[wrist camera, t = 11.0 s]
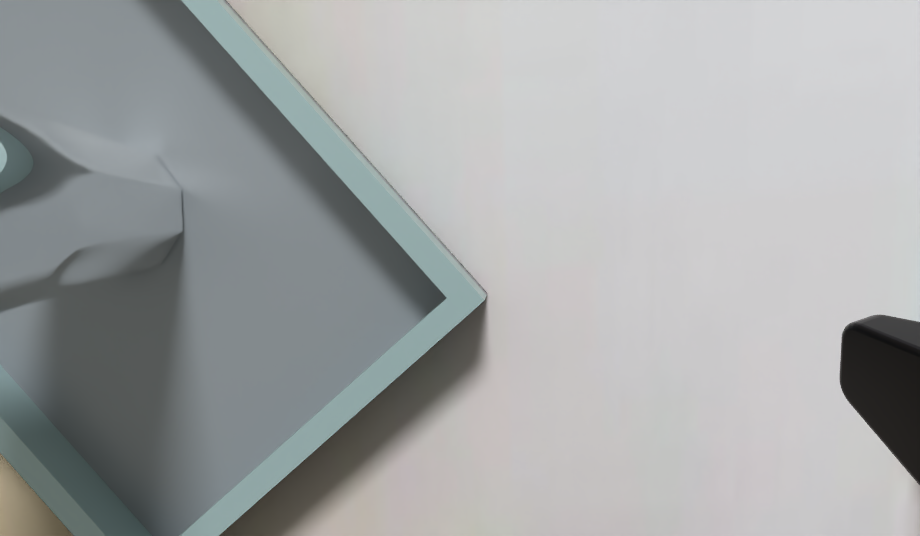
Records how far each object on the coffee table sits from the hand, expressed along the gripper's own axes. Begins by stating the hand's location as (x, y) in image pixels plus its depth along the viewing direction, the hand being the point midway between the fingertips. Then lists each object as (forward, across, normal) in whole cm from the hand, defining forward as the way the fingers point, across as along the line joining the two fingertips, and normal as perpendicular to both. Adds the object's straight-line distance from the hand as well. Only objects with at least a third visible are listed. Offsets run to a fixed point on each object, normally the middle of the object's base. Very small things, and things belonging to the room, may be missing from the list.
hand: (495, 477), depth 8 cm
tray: (+14, +6, 0) cm, 15 cm away
